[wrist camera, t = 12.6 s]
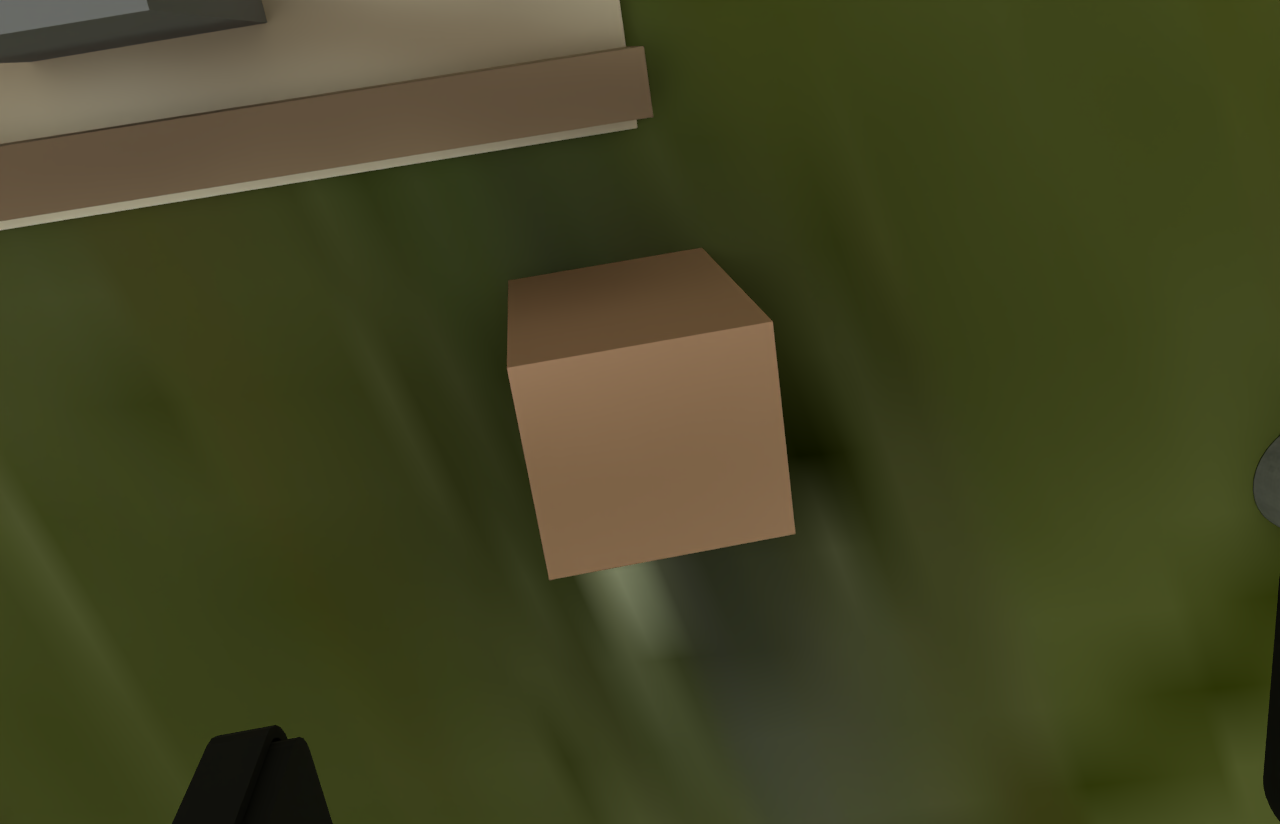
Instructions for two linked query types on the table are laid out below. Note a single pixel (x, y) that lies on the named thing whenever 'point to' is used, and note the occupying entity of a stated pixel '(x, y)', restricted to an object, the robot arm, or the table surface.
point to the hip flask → (1269, 484)
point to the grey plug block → (111, 24)
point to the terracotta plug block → (647, 412)
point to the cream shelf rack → (309, 100)
